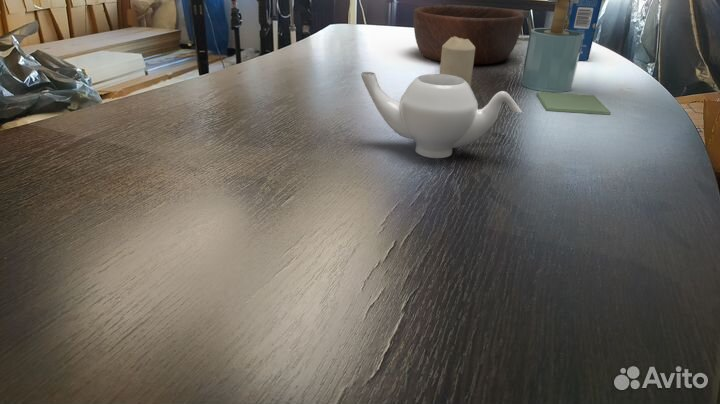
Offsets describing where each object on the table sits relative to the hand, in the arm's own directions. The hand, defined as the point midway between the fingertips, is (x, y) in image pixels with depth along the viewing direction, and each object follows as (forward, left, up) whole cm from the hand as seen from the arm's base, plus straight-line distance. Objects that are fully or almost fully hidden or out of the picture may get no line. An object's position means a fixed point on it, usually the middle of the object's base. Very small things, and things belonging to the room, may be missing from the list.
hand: (562, 2), depth 89 cm
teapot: (+21, +39, -15) cm, 47 cm away
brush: (0, 0, -10) cm, 10 cm away
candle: (+18, +12, -15) cm, 26 cm away
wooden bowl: (+15, -24, -15) cm, 32 cm away
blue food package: (-12, -33, -15) cm, 38 cm away
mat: (-2, +12, -15) cm, 19 cm away
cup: (0, 0, -15) cm, 15 cm away
